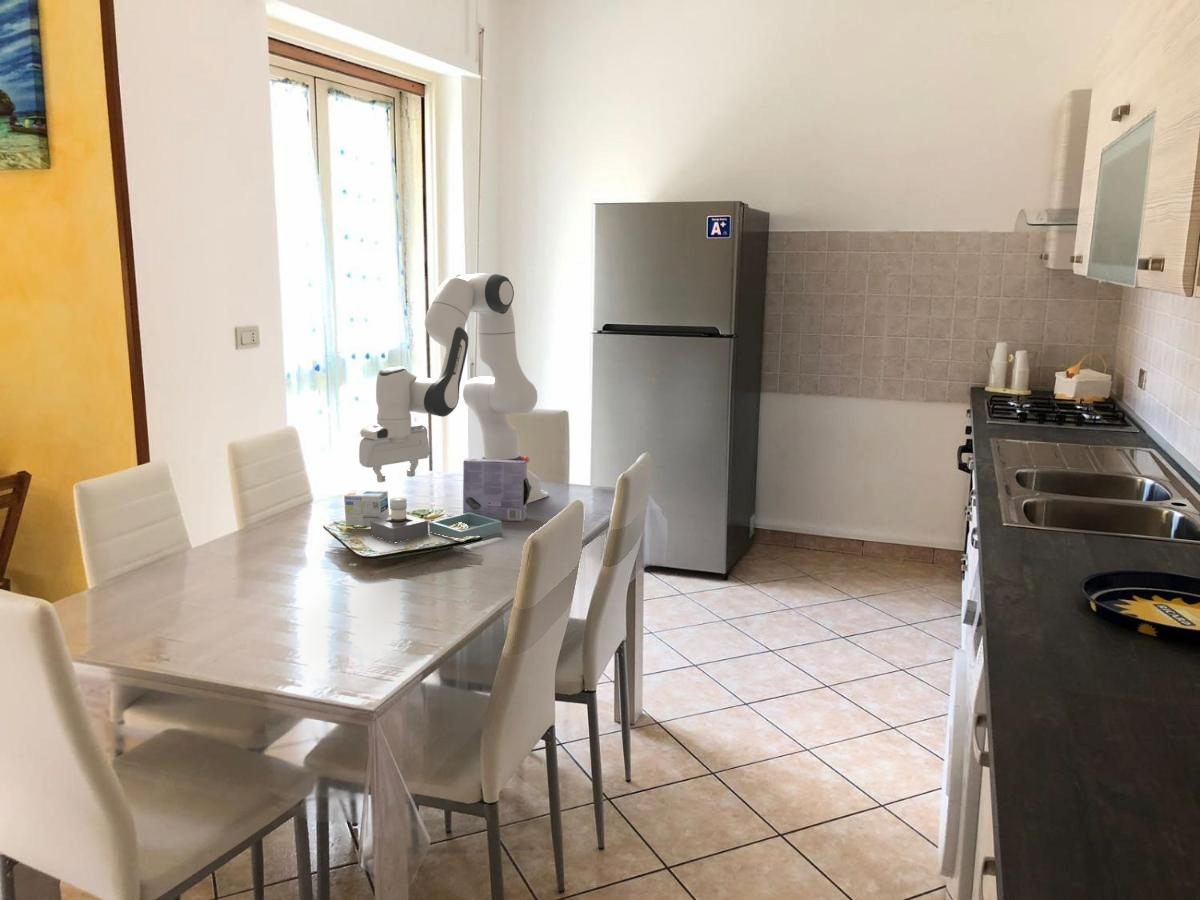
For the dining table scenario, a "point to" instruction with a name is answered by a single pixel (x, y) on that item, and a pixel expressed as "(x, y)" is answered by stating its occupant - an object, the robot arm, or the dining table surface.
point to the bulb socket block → (399, 529)
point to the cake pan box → (495, 488)
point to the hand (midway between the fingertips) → (396, 479)
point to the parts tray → (474, 521)
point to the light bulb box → (365, 507)
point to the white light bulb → (398, 510)
